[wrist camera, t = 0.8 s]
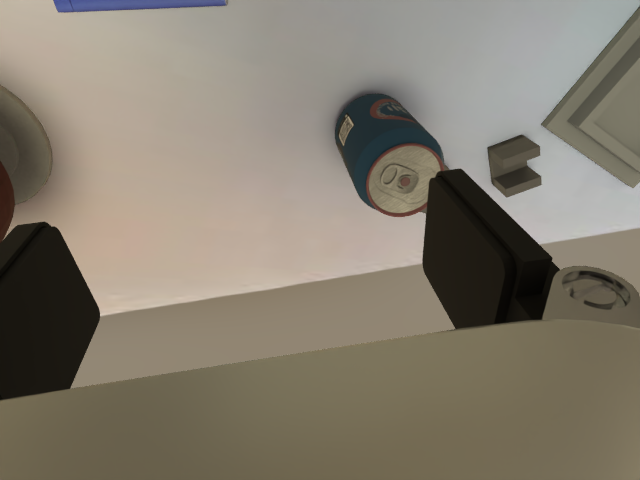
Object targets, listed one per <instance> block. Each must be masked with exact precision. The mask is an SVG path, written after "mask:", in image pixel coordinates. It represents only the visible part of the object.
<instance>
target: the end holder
mask: <svg viewBox="0 0 640 480" xmlns="http://www.w3.org/2000/svg"><path fill="white" fill-rule="evenodd" d="M541 125H542V126H544V127H545V128H547V129H548V130H549V131H551V132H552V133H554V134H555V135H557V136H558V137H559V138H561V139H562V140H564V141H565V142H567V143H568V144H570V145H571V146H572V147H574V148H575V149H577V150H578V151H580V152H581V153H582V154H584V155H585V156H587V157H588V158H590V159H591V160H592V161H594V162H595V163H597V164H598V165H600V166H601V167H602V168H604V169H605V170H607V171H608V172H610V173H611V174H612V175H614V176H615V177H617V178H618V179H620V180H621V181H622V182H624V183H625V184H627V185H628V186H630V187H632V188H634V187H635V186H636V185H637V184H638V183H639V182H640V7H639V8H638V9H637V11H636V12H635V13H634V14H633V15H632V17H631V18H630V19H629V20H628V21H627V23H626V24H625V25H624V26H623V27H622V28H621V30H620V31H619V32H618V33H617V34H616V36H615V37H614V38H613V39H612V40H611V42H610V43H609V44H608V45H607V46H606V48H605V49H604V50H603V51H602V52H601V54H600V55H599V56H598V57H597V58H596V60H595V61H594V62H593V63H592V64H591V66H590V67H589V68H588V69H587V70H586V71H585V73H584V74H583V75H582V76H581V77H580V79H579V80H578V81H577V82H576V83H575V85H574V86H573V87H572V88H571V89H570V91H569V92H568V93H567V94H566V95H565V97H564V98H563V99H562V100H561V101H560V103H559V104H558V105H557V106H556V107H555V109H554V110H553V111H552V112H551V113H550V114H549V116H548V117H547V118H546V119H545V120H544V122H543V123H542V124H541Z"/></svg>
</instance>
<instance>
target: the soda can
mask: <svg viewBox="0 0 640 480" xmlns="http://www.w3.org/2000/svg"><path fill="white" fill-rule="evenodd" d="M335 139H336V144H337V147H338V150H339V152H340V154H341V156H342V159H343V161H344V163H345V166H346V168H347V170H348V172H349V175H350V177H351V179H352V181H353V184H354V186H355V188H356V191H357V193H358V195H359V196H360V198H361V199H362V200H363V201H364V202H365V203H366V204H367V205H368V206H370V207H372V208H374V209H376V210H378V211H380V212H381V213H383V214H386V215H389V216H393V217H405V216H410V215H413V214H416V213H418V212H420V211H422V210H424V209H425V208H426V207H427V200H428V188H429V181H430V179H431V178H434V177H435V176H436V174H437V172H438V171H444V158H443V153H442V150H441V147H440V145H439V144H438V142H437V141H436V140H435V139H434V138H433V137H432V136H431V135H430V134H429V133H428V132H427V131H426V130H425V129H424V128H423V127H422V126H421V125H420V124H419V123H418V122H417V120H416V119H415V118H414V117H413V116H412V115H411V114H410V113H409V112H408V111H407V110H406V109H405V108H404V107H403V106H402V105H401V104H400V103H399V102H398V101H396V100H395V99H393V98H391V97H389V96H386V95H382V94H369V95H365V96H362V97H360V98H358V99H356V100H354V101H353V102H352V103H350V104H349V105H348V106H347V107H346V108H345V109H344V111H343V112H342V114H341V115H340V117H339V119H338V122H337V125H336V130H335Z"/></svg>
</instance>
